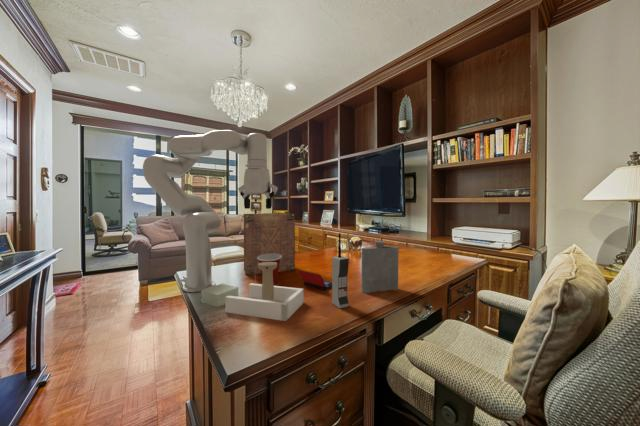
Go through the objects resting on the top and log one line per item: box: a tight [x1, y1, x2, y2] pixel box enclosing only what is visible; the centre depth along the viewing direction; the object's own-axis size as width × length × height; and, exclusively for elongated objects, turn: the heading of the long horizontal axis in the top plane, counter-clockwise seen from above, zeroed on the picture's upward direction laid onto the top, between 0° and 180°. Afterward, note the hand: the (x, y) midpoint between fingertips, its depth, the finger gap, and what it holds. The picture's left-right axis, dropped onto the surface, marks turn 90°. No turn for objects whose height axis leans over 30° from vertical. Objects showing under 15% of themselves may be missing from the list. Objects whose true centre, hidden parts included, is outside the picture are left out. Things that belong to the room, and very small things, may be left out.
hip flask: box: [360, 240, 400, 294], centre depth 104 cm, size 16×4×20 cm, turn 104°
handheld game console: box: [298, 269, 332, 291], centre depth 109 cm, size 12×11×7 cm
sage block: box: [200, 283, 240, 308], centre depth 94 cm, size 9×9×4 cm
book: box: [243, 212, 296, 276], centre depth 134 cm, size 25×9×30 cm, turn 109°
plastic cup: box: [257, 253, 282, 285], centre depth 115 cm, size 11×11×12 cm
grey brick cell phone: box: [331, 233, 350, 309], centre depth 88 cm, size 4×5×25 cm
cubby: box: [224, 282, 305, 322], centre depth 87 cm, size 22×15×5 cm
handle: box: [258, 262, 277, 301], centre depth 87 cm, size 5×6×15 cm
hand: (257, 208), depth 103 cm, fingers open, 9 cm apart
